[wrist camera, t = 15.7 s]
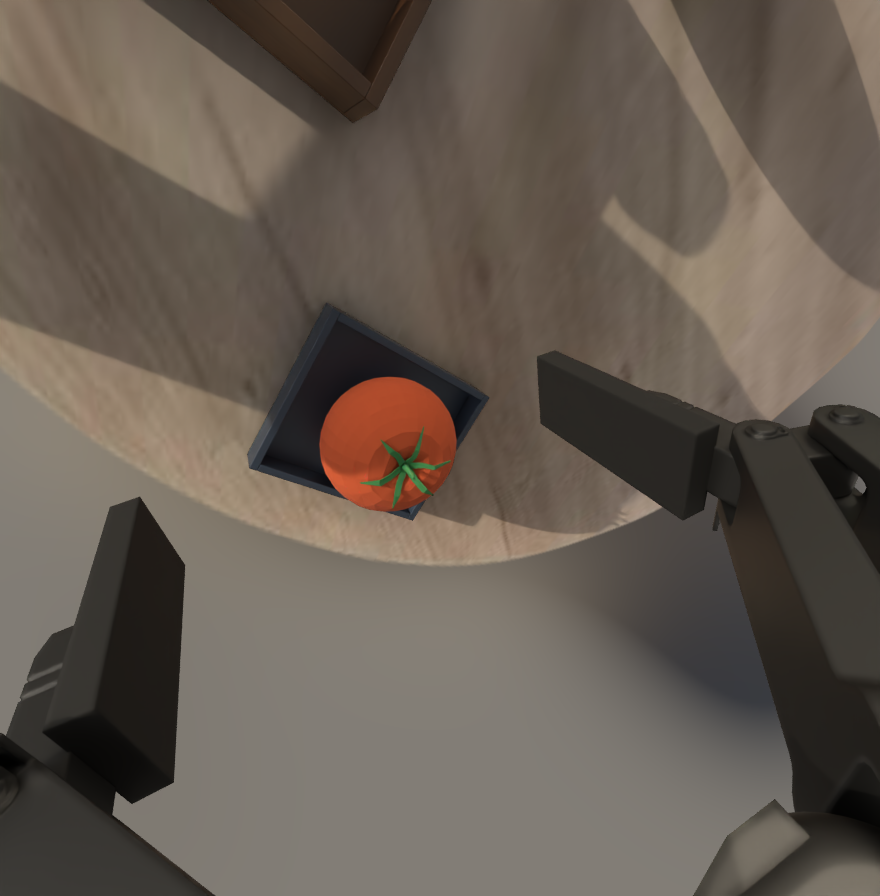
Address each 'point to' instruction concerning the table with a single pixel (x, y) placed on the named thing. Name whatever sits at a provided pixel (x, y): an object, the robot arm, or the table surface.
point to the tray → (327, 378)
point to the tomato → (388, 444)
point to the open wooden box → (334, 43)
